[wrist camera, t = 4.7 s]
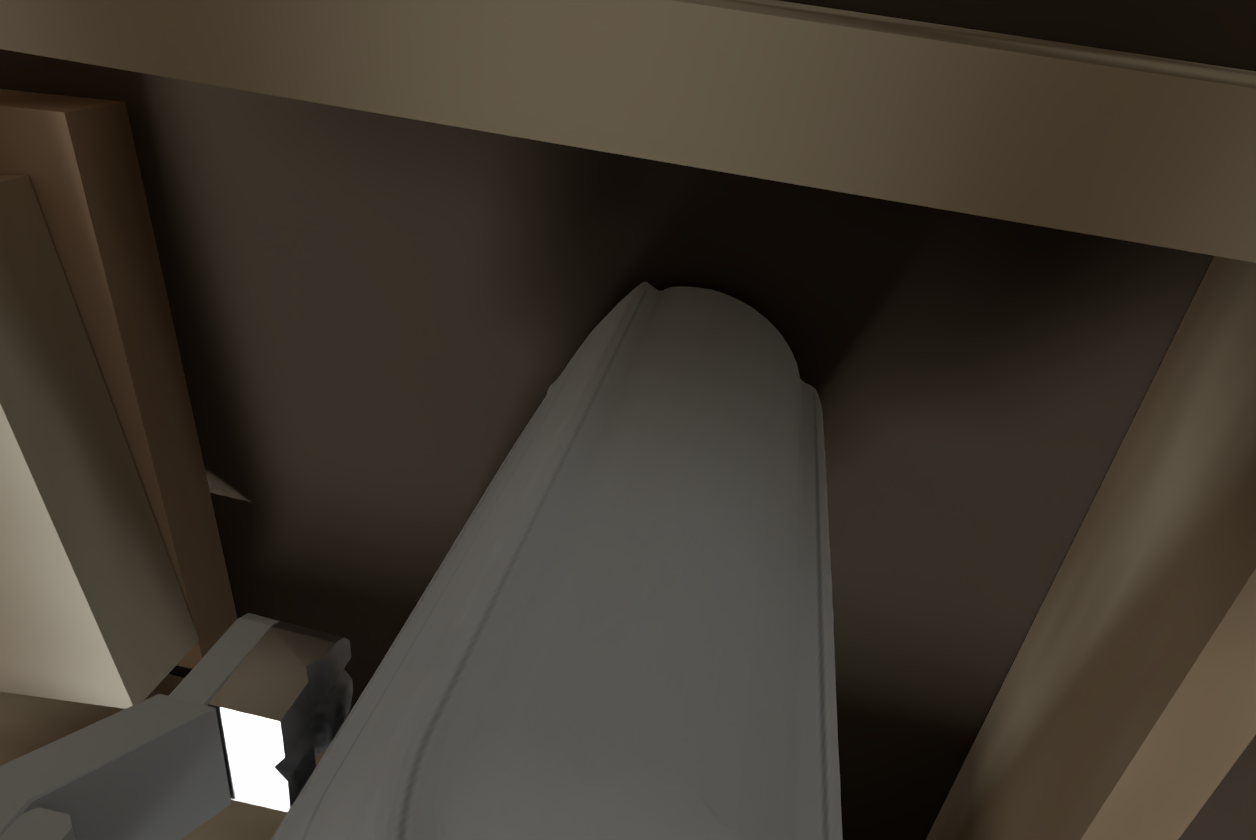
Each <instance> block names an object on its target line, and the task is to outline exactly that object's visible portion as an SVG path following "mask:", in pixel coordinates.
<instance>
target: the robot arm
mask: <svg viewBox="0 0 1256 840" xmlns="http://www.w3.org/2000/svg"><path fill="white" fill-rule="evenodd" d="M350 658H351V649H350V640H348V639H346V638H344V637H340V636H336V635H333V634H329V633H325V632H321V631H318V630H314V629H310V628H306V627H303V626H299V625H295V624H291V623H287V622H284V621H279V620H275V619H271V618H267V617H263V616H259V615H255V614H251V613H247V614H246V615H244V616H242V617H240V618H238V619H237V620H236V621H235V622H234V623H233V624H232V625H231V626H230V628H229V629H228V630H227V631H226V632H225V633H224V634H223V635H222V637H221V638H220V639H219V640H218V641H217V642H216V643H215V644H214V646H213V647H212V648H211V649H210V650H209V651H208V652H207V653H206V655H205V656H204V657H203V658H202V659H201V660H200V661H199V662H198V664H197V665H196V666H195V667H194V668H193V669H192V670H191V671H190V673H189V674H188V675H187V676H186V677H185V678H184V679H183V680H182V682H181V683H180V684H179V685H178V686H177V687H176V688H175V689H174V691H173V692H172V693H171V694H170V695H169V696H167V695H163V694H157V695H155V696H153V697H151V698H148V699H146V700H144V701H142V702H140V703H137V704H135V705H133V706H131V707H129V708H126V709H124V710H122V711H120V712H118V713H115V714H113V715H111V716H109V717H107V718H105V719H102V720H100V721H98V722H96V723H94V724H91V725H89V726H87V727H85V728H83V729H80V730H78V731H76V732H74V733H72V734H69V735H67V736H65V737H63V738H61V739H58V740H56V741H54V742H52V743H50V744H48V745H45V746H43V747H41V748H39V749H37V750H34V751H32V752H30V753H28V754H26V755H23V756H21V757H19V758H17V759H15V760H12V761H10V762H8V763H6V764H4V765H1V766H0V840H180V839H181V838H183V837H184V836H186V835H187V834H189V833H190V832H191V831H193V830H194V829H196V828H197V827H199V826H200V825H202V824H203V823H204V822H206V821H207V820H209V819H210V818H212V817H213V816H215V815H216V814H217V813H219V812H220V811H222V810H223V809H225V808H226V807H228V806H229V805H230V804H231V803H232V801H231V800H235V801H240V802H244V803H248V804H253V805H257V806H261V807H266V808H270V809H275V810H279V811H283V812H288V811H289V809H290V807H291V806H292V805H293V803H294V801H295V800H296V798H297V797H298V795H299V793H300V792H301V790H302V789H303V787H304V785H305V784H306V782H307V781H308V779H309V777H310V776H311V774H312V773H313V771H314V769H315V768H316V759H315V755H317V754H319V753H320V752H322V751H324V750H326V749H327V748H328V747H329V745H330V744H331V742H332V740H333V739H334V737H335V736H336V734H337V732H338V731H339V729H340V728H341V726H342V724H343V723H344V721H345V720H346V718H347V716H348V713H349V710H350V708H351V701H352V695H353V680H352V678H351V677H350V676H349V674H348V673H347V672H346V671H345V669H344V668H345V666H346V665H347V663H348V661H349V660H350Z"/></svg>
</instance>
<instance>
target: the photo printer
mask: <svg viewBox="0 0 1256 840" xmlns="http://www.w3.org/2000/svg"><path fill="white" fill-rule="evenodd" d="M833 621H834V615H833V605H832V578H831V563H830V542H829V522H828V502H827V475H826V457H825V447H824V433H823V412H822V407H821V402H820V399H819V396H818V393H817V391H816V389H815V388H814V387H812V386H811V385H809V384H806V383H805V382H803V381H802V380H801V379H800V375H799V371H798V366H797V363H796V360H795V358H794V356H793V353H792V351H791V349H790V347H789V346H788V344H787V343H786V341H785V339H784V338H783V336H782V335H781V334H780V332H779V331H778V330H777V329H776V328H775V327H774V326H773V325H772V324H771V323H770V322H769V321H768V320H767V319H766V318H765V317H764V316H763V315H761V314H760V313H759V312H758V311H756V310H755V309H754V308H752V307H751V306H749V305H747V304H745V303H744V302H742V301H740V300H738V299H736V298H733V297H731V296H729V295H726V294H724V293H722V292H718V291H714V290H711V289H705V288H697V287H684V286H679V287H670V288H666V289H664V290H662V291H659V290H657V289H656V288H654V287H653V286H652V285H650V284H649V283H647V282H643V283H641V284H640V285H638V286H637V287H636V288H635V289H633V290H632V291H631V292H630V293H629V294H628V295H627V296H626V297H625V298H623V299H622V300H621V301H620V302H619V303H618V304H617V305H616V306H615V307H614V308H613V309H612V310H611V311H610V312H609V313H608V315H607V316H606V317H605V318H604V319H603V320H602V321H601V322H600V323H599V324H598V325H597V326H596V327H595V328H594V329H593V330H592V332H591V333H590V334H589V336H588V337H587V338H586V340H585V341H584V342H583V344H582V345H581V346H580V348H579V349H578V350H577V352H576V353H575V355H574V356H573V357H572V359H571V360H570V361H569V363H568V364H567V366H566V367H565V369H564V370H563V372H562V373H561V375H560V376H559V378H557V379H556V380H555V381H554V382H553V383H552V384H551V385H550V387H549V388H548V391H547V395H546V397H545V398H544V400H543V401H542V403H541V404H540V406H539V407H538V409H537V410H536V412H535V413H534V415H533V416H532V418H531V419H530V421H529V422H528V424H527V425H526V427H525V429H524V430H523V432H522V433H521V435H520V436H519V438H518V439H517V441H516V442H515V444H514V446H513V447H512V449H511V450H510V452H509V454H508V455H507V457H506V458H505V460H504V461H503V463H502V465H501V466H500V468H499V470H498V471H497V473H496V474H495V476H494V478H493V479H492V481H491V483H490V484H489V486H488V488H487V489H486V491H485V493H484V494H483V496H482V497H481V499H480V501H479V502H478V504H477V506H476V507H475V509H474V511H473V512H472V514H471V515H470V517H469V519H468V520H467V522H466V524H465V525H464V527H463V529H462V530H461V532H460V534H459V535H458V537H457V539H456V540H455V542H454V544H453V545H452V547H451V549H450V550H449V552H448V554H447V555H446V557H445V559H444V560H443V562H442V563H441V565H440V567H439V568H438V570H437V572H436V573H435V575H434V576H433V578H432V580H431V581H430V583H429V585H428V586H427V588H426V589H425V591H424V593H423V594H422V596H421V598H420V599H419V601H418V603H417V604H416V606H415V608H414V609H413V611H412V612H411V614H410V616H409V617H408V619H407V621H406V622H405V624H404V626H403V627H402V629H401V631H400V632H399V634H398V635H397V637H396V639H395V640H394V642H393V644H392V645H391V647H390V649H389V650H388V652H387V653H386V655H385V657H384V658H383V660H382V662H381V663H380V665H379V666H378V668H377V670H376V671H375V673H374V675H373V676H372V678H371V679H370V681H369V683H368V684H367V686H366V687H365V689H364V691H363V692H362V694H361V695H360V697H359V699H358V700H357V702H356V704H355V705H354V707H353V708H352V710H351V712H350V713H349V715H348V716H347V718H346V720H345V721H344V723H343V724H342V726H341V728H340V729H339V731H338V732H337V734H336V736H335V737H334V739H333V740H332V742H331V744H330V745H329V747H328V749H327V750H326V752H325V753H324V755H323V757H322V758H321V760H320V761H319V763H318V765H317V766H316V768H315V769H314V771H313V773H312V774H311V776H310V777H309V779H308V781H307V782H306V784H305V785H304V787H303V789H302V790H301V792H300V793H299V795H298V797H297V798H296V800H295V801H294V803H293V805H292V806H291V807H290V809H289V811H288V812H287V814H286V816H285V817H284V819H283V821H282V822H281V824H280V825H279V827H278V828H277V830H276V832H275V833H274V835H273V836H272V838H271V840H843V836H842V815H841V789H840V769H839V751H838V727H837V703H836V677H835V648H834V629H833Z"/></svg>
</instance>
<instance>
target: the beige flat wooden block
mask: <svg viewBox="0 0 1256 840" xmlns="http://www.w3.org/2000/svg"><path fill="white" fill-rule="evenodd" d="M0 175H28V176H29V179H30V182H31V184H32V187H33V190H34V192H35V195H36V198H37V201H38V203H39V206H40V209H41V211H42V214H43V217H44V220H45V222H46V225H47V228H48V230H49V233H50V236H51V239H52V241H53V244H54V247H55V249H56V252H57V255H58V258H59V260H60V263H61V266H62V268H63V271H64V274H65V277H66V279H67V282H68V285H69V287H70V290H71V293H72V296H73V298H74V301H75V304H76V306H77V309H78V312H79V315H80V317H81V320H82V323H83V325H84V328H85V331H86V334H87V336H88V339H89V342H90V344H91V347H92V350H93V353H94V355H95V358H96V361H97V363H98V366H99V369H100V372H101V374H102V377H103V380H104V383H105V385H106V388H107V391H108V393H109V396H110V399H111V402H112V404H113V407H114V410H115V412H116V415H117V418H118V421H119V423H120V426H121V429H122V431H123V434H124V437H125V440H126V442H127V445H128V448H129V450H130V453H131V456H132V459H133V461H134V464H135V467H136V469H137V472H138V475H139V478H140V480H141V483H142V486H143V488H144V491H145V494H146V497H147V499H148V502H149V505H150V507H151V510H152V513H153V516H154V518H155V521H156V524H157V526H158V529H159V532H160V535H161V537H162V540H163V543H164V545H165V548H166V551H167V554H168V556H169V559H170V562H171V564H172V567H173V570H174V573H175V575H176V578H177V581H178V584H179V586H180V589H181V592H182V594H183V597H184V600H185V603H186V605H187V608H188V611H189V613H190V616H191V619H192V622H193V624H194V627H195V630H196V632H197V635H198V638H199V641H198V642H197V643H196V644H195V646H194V647H193V648H192V649H191V650H190V651H189V652H188V653H187V654H186V655H185V656H184V657H183V659H182V660H181V661H180V662H179V663H178V664H177V665H176V666H181V667H187V668H192V669H193V668H194V667H195V666H196V665H197V664H198V662H199V661H200V660H201V659H202V658H203V657H204V656H205V655H206V653H207V652H208V651H209V650H210V649H211V648H212V647H213V646H214V644H215V643H216V642H217V641H218V640H219V639H220V638H221V637H222V635H223V634H224V633H225V632H226V631H227V630H228V629H229V628H230V626H231V625H232V624H233V623H234V622H235V621H236V620H237V614H236V610H235V605H234V601H233V596H232V591H231V587H230V582H229V578H228V573H227V568H226V564H225V559H224V554H223V550H222V545H221V541H220V536H219V531H218V527H217V522H216V518H215V513H214V508H213V504H212V499H211V495H210V490H209V485H208V481H207V476H206V472H205V467H204V462H203V458H202V453H201V448H200V444H199V439H198V435H197V430H196V425H195V421H194V416H193V412H192V407H191V402H190V398H189V393H188V389H187V384H186V379H185V375H184V370H183V365H182V361H181V356H180V352H179V347H178V342H177V338H176V333H175V329H174V324H173V319H172V315H171V310H170V306H169V301H168V296H167V292H166V287H165V283H164V278H163V273H162V269H161V264H160V259H159V255H158V250H157V246H156V241H155V236H154V232H153V227H152V223H151V218H150V213H149V209H148V204H147V200H146V195H145V190H144V186H143V181H142V176H141V172H140V167H139V163H138V158H137V153H136V149H135V144H134V140H133V135H132V130H131V126H130V121H129V117H128V112H127V107H126V103H125V102H124V101H114V100H104V99H94V98H84V97H75V96H65V95H55V94H45V93H36V92H26V91H16V90H6V89H0Z"/></svg>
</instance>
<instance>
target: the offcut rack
mask: <svg viewBox="0 0 1256 840" xmlns="http://www.w3.org/2000/svg"><path fill="white" fill-rule="evenodd" d="M0 49H4V50H9V51H15V52H21V53H27V54H33V55H39V56H45V57H50V58H56V59H62V60H68V61H74V62H80V63H86V64H92V65H97V66H103V67H109V68H115V69H121V70H127V71H133V72H139V73H144V74H150V75H156V76H162V77H168V78H174V79H180V80H185V81H191V82H197V83H203V84H209V85H215V86H221V87H227V88H232V89H238V90H244V91H250V92H256V93H262V94H268V95H274V96H279V97H285V98H291V99H297V100H303V101H309V102H315V103H320V104H326V105H332V106H338V107H344V108H350V109H356V110H362V111H367V112H373V113H379V114H385V115H391V116H397V117H403V118H409V119H414V120H420V121H426V122H432V123H438V124H444V125H450V126H456V127H461V128H467V129H473V130H479V131H485V132H491V133H497V134H502V135H508V136H514V137H520V138H526V139H532V140H538V141H544V142H549V143H555V144H561V145H567V146H573V147H579V148H585V149H591V150H596V151H602V152H608V153H614V154H620V155H626V156H632V157H637V158H643V159H649V160H655V161H661V162H667V163H673V164H679V165H684V166H690V167H696V168H702V169H708V170H714V171H720V172H726V173H731V174H737V175H743V176H749V177H755V178H761V179H767V180H772V181H778V182H784V183H790V184H796V185H802V186H808V187H814V188H819V189H825V190H831V191H837V192H843V193H849V194H855V195H861V196H866V197H872V198H878V199H884V200H890V201H896V202H902V203H907V204H913V205H919V206H925V207H931V208H937V209H943V210H949V211H954V212H960V213H966V214H972V215H978V216H984V217H990V218H996V219H1001V220H1007V221H1013V222H1019V223H1025V224H1031V225H1037V226H1043V227H1048V228H1054V229H1060V230H1066V231H1072V232H1078V233H1084V234H1089V235H1095V236H1101V237H1107V238H1113V239H1119V240H1125V241H1131V242H1136V243H1142V244H1148V245H1154V246H1160V247H1166V248H1172V249H1178V250H1183V251H1189V252H1195V253H1201V254H1207V255H1213V256H1214V257H1213V259H1212V261H1211V263H1210V265H1209V267H1208V269H1207V271H1206V273H1205V276H1204V278H1203V280H1202V282H1201V284H1200V286H1199V288H1198V290H1197V292H1196V294H1195V296H1194V298H1193V300H1192V302H1191V304H1190V306H1189V308H1188V310H1187V312H1186V314H1185V316H1184V318H1183V320H1182V322H1181V324H1180V326H1179V328H1178V330H1177V332H1176V334H1175V336H1174V338H1173V340H1172V342H1171V344H1170V346H1169V348H1168V350H1167V352H1166V354H1165V356H1164V358H1163V360H1162V363H1161V365H1160V367H1159V369H1158V371H1157V373H1156V375H1155V377H1154V379H1153V381H1152V383H1151V385H1150V387H1149V389H1148V391H1147V393H1146V395H1145V397H1144V399H1143V401H1142V403H1141V405H1140V407H1139V409H1138V411H1137V413H1136V415H1135V417H1134V419H1133V421H1132V423H1131V425H1130V427H1129V429H1128V431H1127V433H1126V435H1125V437H1124V439H1123V441H1122V443H1121V445H1120V448H1119V450H1118V452H1117V454H1116V456H1115V458H1114V460H1113V462H1112V464H1111V466H1110V468H1109V470H1108V472H1107V474H1106V476H1105V478H1104V480H1103V482H1102V484H1101V486H1100V488H1099V490H1098V492H1097V494H1096V496H1095V498H1094V500H1093V502H1092V504H1091V506H1090V508H1089V510H1088V512H1087V514H1086V516H1085V518H1084V520H1083V522H1082V524H1081V526H1080V528H1079V530H1078V532H1077V535H1076V537H1075V539H1074V541H1073V543H1072V545H1071V547H1070V549H1069V551H1068V553H1067V555H1066V557H1065V559H1064V561H1063V563H1062V565H1061V567H1060V569H1059V571H1058V573H1057V575H1056V577H1055V579H1054V581H1053V583H1052V585H1051V587H1050V589H1049V591H1048V593H1047V595H1046V597H1045V599H1044V601H1043V603H1042V605H1041V607H1040V609H1039V611H1038V613H1037V615H1036V617H1035V619H1034V622H1033V624H1032V626H1031V628H1030V630H1029V632H1028V634H1027V636H1026V638H1025V640H1024V642H1023V644H1022V646H1021V648H1020V650H1019V652H1018V654H1017V656H1016V658H1015V660H1014V662H1013V664H1012V666H1011V668H1010V670H1009V672H1008V674H1007V676H1006V678H1005V680H1004V682H1003V684H1002V686H1001V688H1000V690H999V692H998V694H997V696H996V698H995V700H994V702H993V704H992V706H991V709H990V711H989V713H988V715H987V717H986V719H985V721H984V723H983V725H982V727H981V729H980V731H979V733H978V735H977V737H976V739H975V741H974V743H973V745H972V747H971V749H970V751H969V753H968V755H967V757H966V759H965V761H964V763H963V765H962V767H961V769H960V771H959V773H958V775H957V777H956V779H955V781H954V783H953V785H952V787H951V789H950V791H949V793H948V796H947V798H946V800H945V802H944V804H943V806H942V808H941V810H940V812H939V814H938V816H937V818H936V820H935V822H934V824H933V826H932V828H931V830H930V832H929V834H928V836H927V838H926V840H1178V839H1179V838H1180V836H1181V835H1182V834H1183V832H1184V831H1185V830H1186V828H1187V827H1188V825H1189V824H1190V823H1191V821H1192V820H1193V819H1194V817H1195V816H1196V815H1197V813H1198V812H1199V811H1200V809H1201V808H1202V807H1203V805H1204V804H1205V802H1206V801H1207V800H1208V798H1209V797H1210V796H1211V794H1212V793H1213V792H1214V790H1215V789H1216V788H1217V786H1218V785H1219V783H1220V782H1221V781H1222V779H1223V778H1224V777H1225V775H1226V774H1227V773H1228V771H1229V770H1230V769H1231V767H1232V766H1233V765H1234V763H1235V762H1236V760H1237V759H1238V758H1239V756H1240V755H1241V754H1242V752H1243V751H1244V750H1245V748H1246V747H1247V746H1248V744H1249V743H1250V742H1251V740H1252V739H1253V737H1254V736H1255V735H1256V71H1249V70H1243V69H1236V68H1229V67H1222V66H1216V65H1209V64H1202V63H1196V62H1189V61H1182V60H1175V59H1169V58H1162V57H1155V56H1149V55H1142V54H1135V53H1128V52H1122V51H1115V50H1108V49H1101V48H1095V47H1088V46H1081V45H1075V44H1068V43H1061V42H1054V41H1048V40H1041V39H1034V38H1028V37H1021V36H1014V35H1007V34H1001V33H994V32H987V31H981V30H974V29H967V28H960V27H954V26H947V25H940V24H933V23H927V22H920V21H913V20H907V19H900V18H893V17H886V16H880V15H873V14H866V13H860V12H853V11H846V10H839V9H833V8H826V7H819V6H813V5H806V4H799V3H792V2H786V1H779V0H0ZM183 679H184V677H180V676H176V675H172V674H168V675H167V676H166V677H165V678H164V679H163V680H162V681H161V682H160V683H159V685H158V686H157V687H156V688H155V689H154V690H153V691H152V692H151V693H150V694H149V695H148V697H147V698H146V699H148V698H151V697H153V696H155V695H157V694H163V695H167V696H169V695H170V694H171V693H172V692H173V691H174V689H175V688H176V687H177V686H178V685H179V684H180V683H181V682H182V680H183ZM146 699H145V700H146ZM122 710H124V709H123V708H116V707H108V706H101V705H94V704H86V703H79V702H72V701H65V700H57V699H50V698H43V697H35V696H28V695H21V694H13V693H6V692H0V766H1V765H4V764H6V763H8V762H10V761H12V760H15V759H17V758H19V757H21V756H23V755H26V754H28V753H30V752H32V751H34V750H37V749H39V748H41V747H43V746H45V745H48V744H50V743H52V742H54V741H56V740H58V739H61V738H63V737H65V736H67V735H69V734H72V733H74V732H76V731H78V730H80V729H83V728H85V727H87V726H89V725H91V724H94V723H96V722H98V721H100V720H102V719H105V718H107V717H109V716H111V715H113V714H115V713H118V712H120V711H122ZM327 749H328V748H327ZM327 749H326V750H327ZM326 750H324V751H322V752H320V753H319V754H317V755H315V759H316V766H317V765H318V763H319V761H320V760H321V758H322V757H323V755H324V753H325V752H326ZM231 801H232V803H231V804H230V805H229V806H228V807H226V808H225V809H223V810H222V811H220V812H219V813H217V814H216V815H215V816H213V817H212V818H210V819H209V820H207V821H206V822H204V823H203V824H202V825H200V826H199V827H197V828H196V829H194V830H193V831H191V832H190V833H189V834H187V835H186V836H184V837H183V838H181V839H180V840H271V838H272V836H273V835H274V833H275V832H276V830H277V828H278V827H279V825H280V824H281V822H282V821H283V819H284V817H285V816H286V814H287V812H283V811H279V810H275V809H270V808H266V807H261V806H257V805H253V804H248V803H244V802H240V801H235V800H231Z"/></svg>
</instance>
